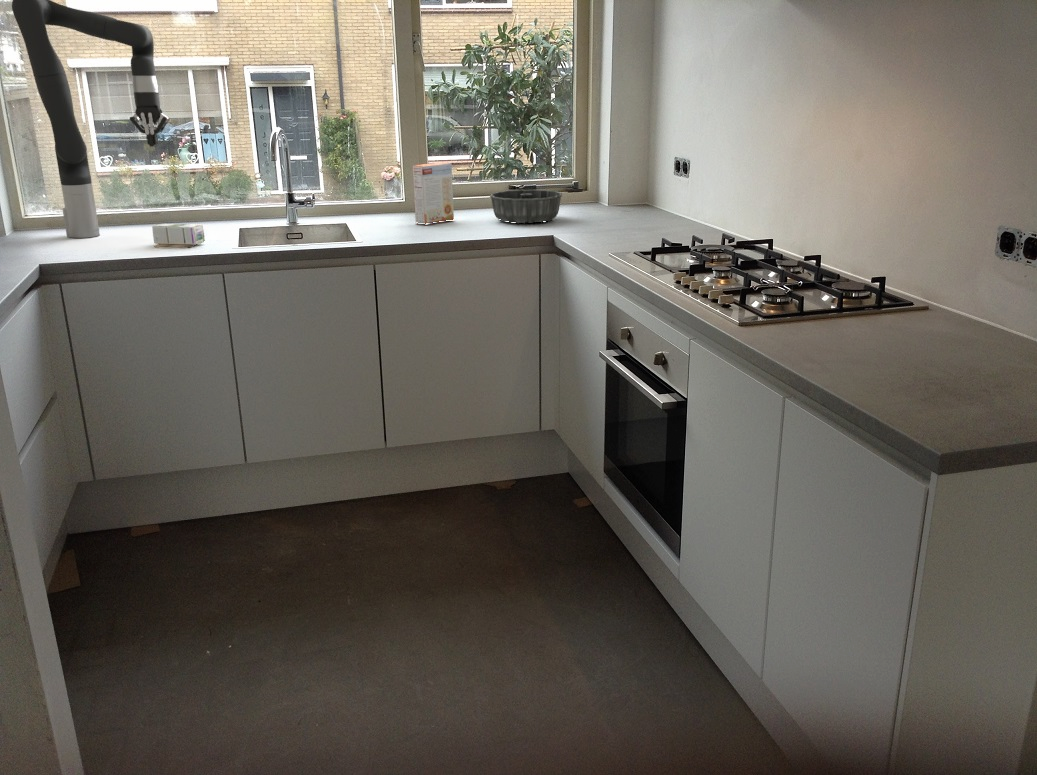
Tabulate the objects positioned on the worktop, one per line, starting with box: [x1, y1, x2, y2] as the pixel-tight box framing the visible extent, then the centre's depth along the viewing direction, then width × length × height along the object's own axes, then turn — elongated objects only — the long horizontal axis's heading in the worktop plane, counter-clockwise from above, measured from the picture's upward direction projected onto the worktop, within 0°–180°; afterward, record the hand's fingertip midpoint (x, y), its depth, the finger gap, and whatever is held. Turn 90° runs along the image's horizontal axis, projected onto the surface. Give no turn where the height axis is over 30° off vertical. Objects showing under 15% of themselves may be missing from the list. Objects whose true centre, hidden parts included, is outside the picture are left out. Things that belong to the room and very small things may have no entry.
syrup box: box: [151, 223, 206, 246], centre depth 285 cm, size 6×6×14 cm
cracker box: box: [412, 162, 455, 224], centre depth 324 cm, size 14×6×21 cm, turn 136°
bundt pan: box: [489, 189, 563, 224], centre depth 329 cm, size 26×26×10 cm
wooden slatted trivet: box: [153, 244, 194, 248], centre depth 287 cm, size 12×12×1 cm
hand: (153, 146), depth 296 cm, fingers closed
